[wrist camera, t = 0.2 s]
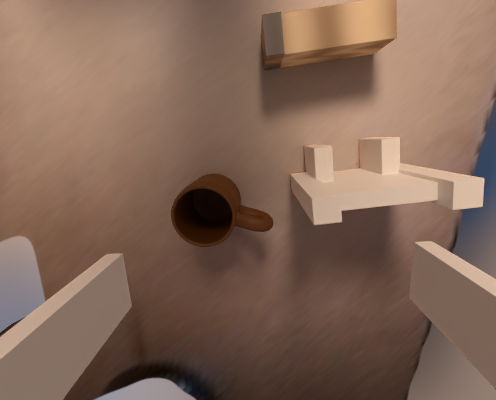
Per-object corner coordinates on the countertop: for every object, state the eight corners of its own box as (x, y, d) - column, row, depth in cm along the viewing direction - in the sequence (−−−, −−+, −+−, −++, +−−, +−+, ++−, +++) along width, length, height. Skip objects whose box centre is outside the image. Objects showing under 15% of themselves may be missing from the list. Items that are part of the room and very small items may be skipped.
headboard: (287, 148, 38) (308, 155, 22) (390, 134, 37) (487, 133, 22) (291, 190, 39) (314, 225, 24) (391, 178, 38) (482, 206, 23)
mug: (275, 183, 39) (281, 198, 30) (265, 233, 41) (267, 260, 32) (193, 168, 39) (173, 177, 30) (186, 218, 41) (165, 241, 32)
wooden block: (372, 19, 34) (398, -7, 28) (373, 54, 35) (398, 36, 29) (261, 36, 35) (261, 14, 29) (264, 70, 36) (266, 55, 30)
